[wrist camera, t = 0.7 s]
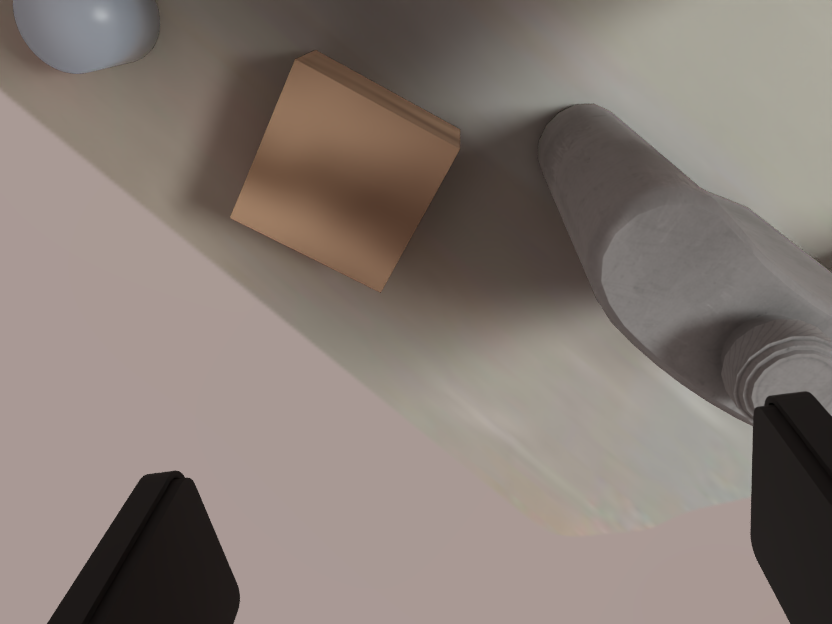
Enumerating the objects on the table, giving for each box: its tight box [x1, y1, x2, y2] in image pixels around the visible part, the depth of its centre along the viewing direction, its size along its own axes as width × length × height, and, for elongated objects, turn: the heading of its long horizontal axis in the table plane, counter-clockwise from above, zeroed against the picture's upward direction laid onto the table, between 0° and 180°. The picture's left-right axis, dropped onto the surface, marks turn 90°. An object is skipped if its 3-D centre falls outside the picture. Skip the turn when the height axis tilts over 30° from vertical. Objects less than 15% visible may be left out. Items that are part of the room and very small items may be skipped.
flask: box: [538, 104, 832, 426], centre depth 30 cm, size 15×6×20 cm, turn 58°
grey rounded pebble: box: [13, 0, 160, 74], centre depth 34 cm, size 5×5×5 cm
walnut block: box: [230, 50, 460, 293], centre depth 37 cm, size 9×9×5 cm
